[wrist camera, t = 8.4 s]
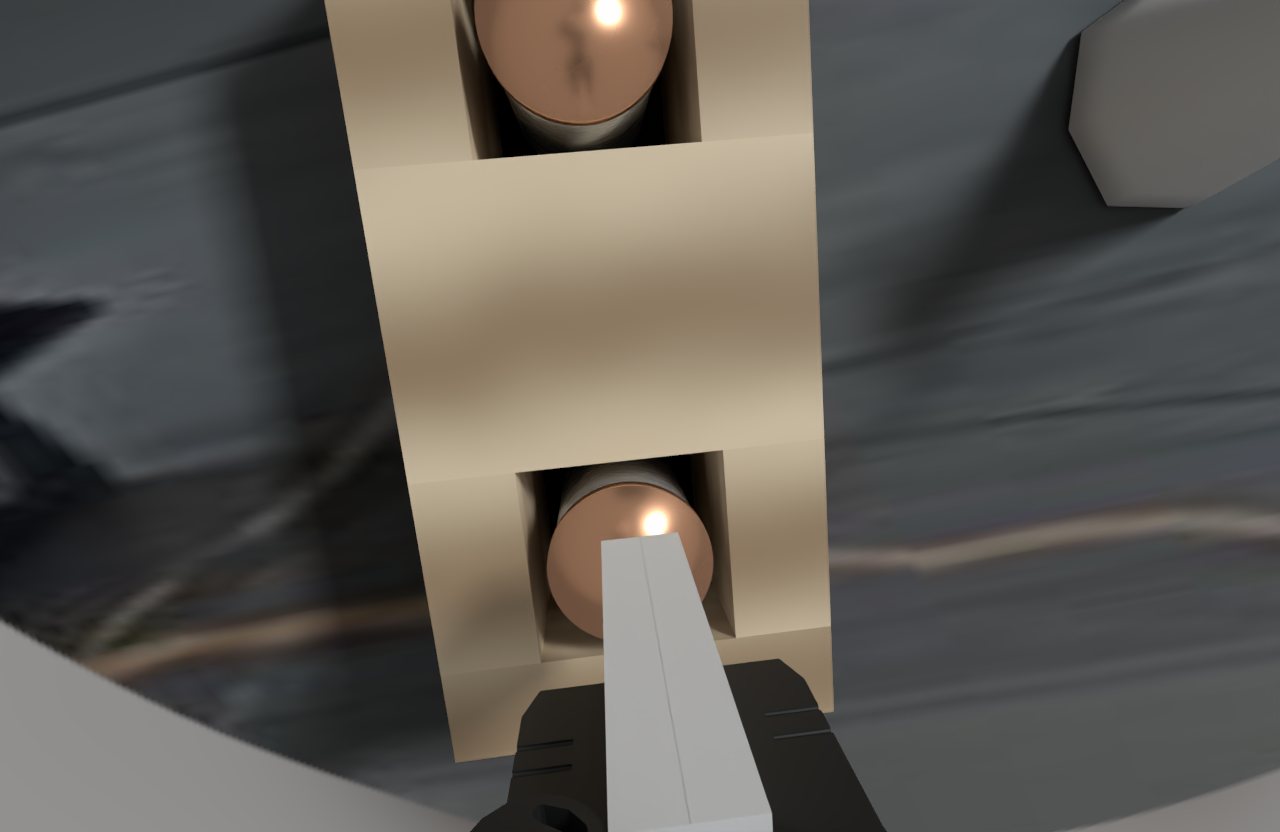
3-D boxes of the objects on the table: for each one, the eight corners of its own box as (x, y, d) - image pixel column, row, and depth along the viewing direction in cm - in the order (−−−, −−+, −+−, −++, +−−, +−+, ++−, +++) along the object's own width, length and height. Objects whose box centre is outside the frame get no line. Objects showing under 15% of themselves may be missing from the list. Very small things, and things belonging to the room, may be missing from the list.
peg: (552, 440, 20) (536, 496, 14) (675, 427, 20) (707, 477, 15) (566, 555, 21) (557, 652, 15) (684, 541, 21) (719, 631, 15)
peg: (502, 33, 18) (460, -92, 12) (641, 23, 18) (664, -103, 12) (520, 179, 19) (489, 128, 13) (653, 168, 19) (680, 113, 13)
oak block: (385, -67, 18) (281, -248, 12) (732, -87, 18) (798, -270, 12) (492, 637, 22) (455, 762, 16) (770, 602, 22) (833, 711, 17)
